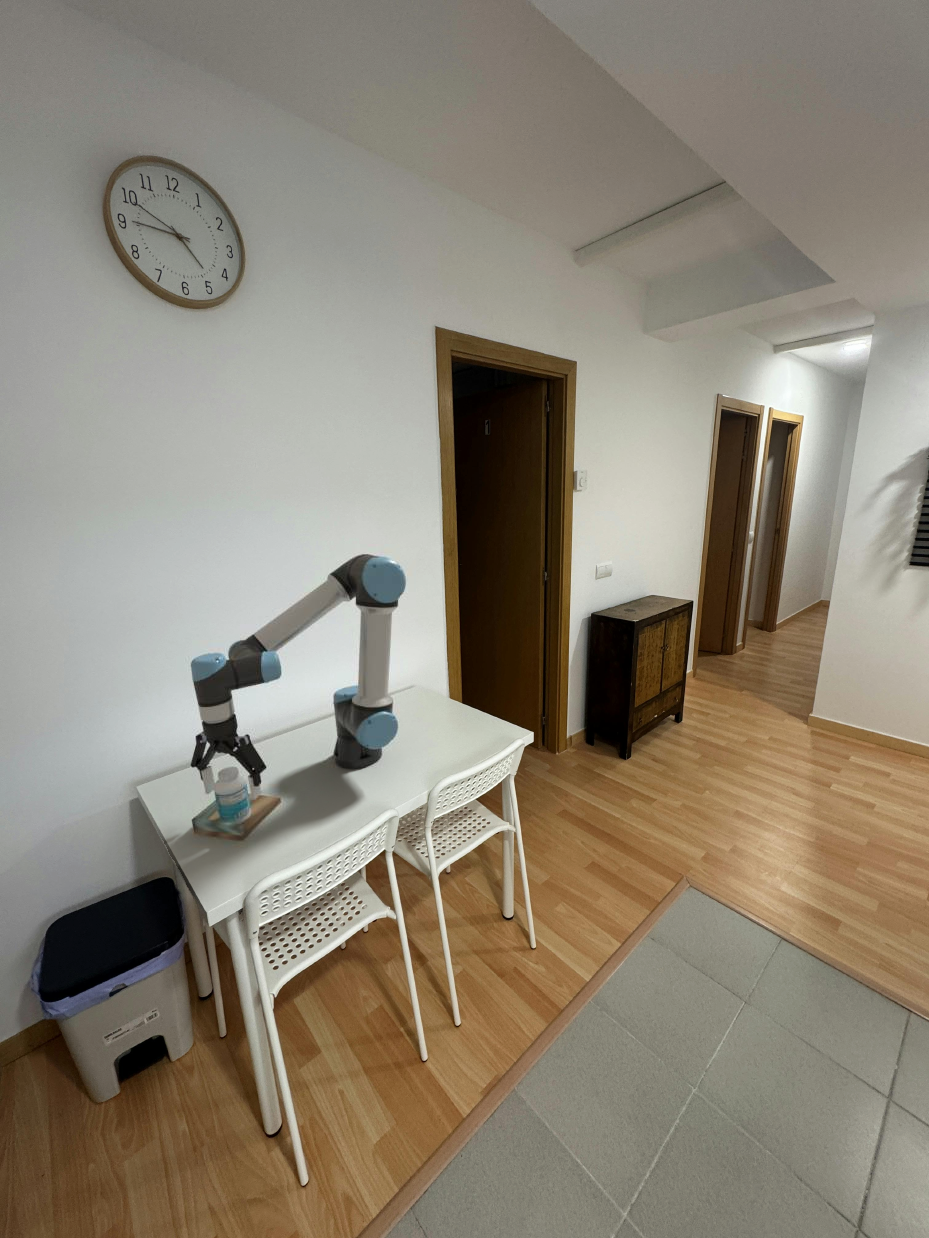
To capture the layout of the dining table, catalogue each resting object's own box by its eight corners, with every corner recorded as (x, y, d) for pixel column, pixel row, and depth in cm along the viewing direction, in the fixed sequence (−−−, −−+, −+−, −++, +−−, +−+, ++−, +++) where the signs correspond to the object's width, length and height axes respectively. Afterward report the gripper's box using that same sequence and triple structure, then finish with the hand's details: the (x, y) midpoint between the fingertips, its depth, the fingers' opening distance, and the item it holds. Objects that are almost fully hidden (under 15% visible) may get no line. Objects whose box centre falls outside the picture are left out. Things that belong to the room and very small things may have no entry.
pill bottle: (226, 810, 131) (218, 764, 128) (255, 808, 131) (248, 762, 128) (215, 829, 124) (206, 780, 120) (245, 826, 124) (238, 778, 121)
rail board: (281, 802, 136) (279, 789, 135) (242, 840, 121) (239, 826, 120) (237, 796, 140) (235, 783, 139) (194, 833, 125) (191, 819, 124)
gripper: (272, 713, 121) (285, 789, 127) (187, 707, 127) (203, 780, 133) (253, 727, 114) (267, 807, 120) (163, 720, 120) (181, 797, 126)
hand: (233, 793), depth 126 cm, fingers open, 13 cm apart
